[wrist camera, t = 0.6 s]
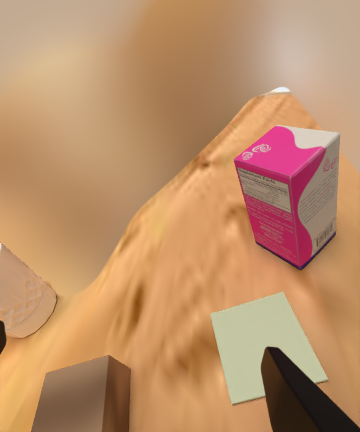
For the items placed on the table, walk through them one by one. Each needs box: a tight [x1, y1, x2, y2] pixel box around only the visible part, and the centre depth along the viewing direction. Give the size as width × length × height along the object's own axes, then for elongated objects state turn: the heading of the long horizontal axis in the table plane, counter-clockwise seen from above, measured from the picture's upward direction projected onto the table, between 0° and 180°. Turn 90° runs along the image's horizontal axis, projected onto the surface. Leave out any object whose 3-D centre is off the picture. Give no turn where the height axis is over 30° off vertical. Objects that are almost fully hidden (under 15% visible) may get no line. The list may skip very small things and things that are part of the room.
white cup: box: [0, 243, 57, 338], centre depth 29 cm, size 8×8×10 cm
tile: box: [210, 292, 328, 405], centre depth 20 cm, size 7×7×1 cm
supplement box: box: [234, 125, 340, 270], centre depth 23 cm, size 6×6×12 cm
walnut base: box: [31, 355, 130, 432], centre depth 20 cm, size 6×6×4 cm
